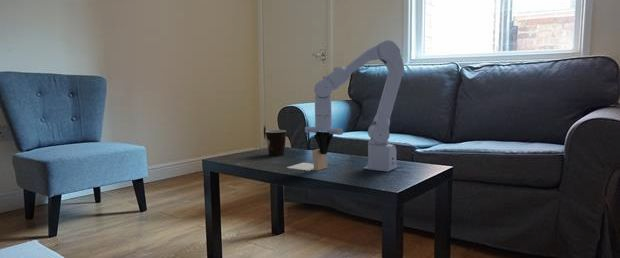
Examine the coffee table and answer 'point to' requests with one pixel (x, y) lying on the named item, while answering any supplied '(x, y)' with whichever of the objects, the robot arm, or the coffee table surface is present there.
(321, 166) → the tile
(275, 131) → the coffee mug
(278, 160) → the coffee table surface
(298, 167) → the felt mat
